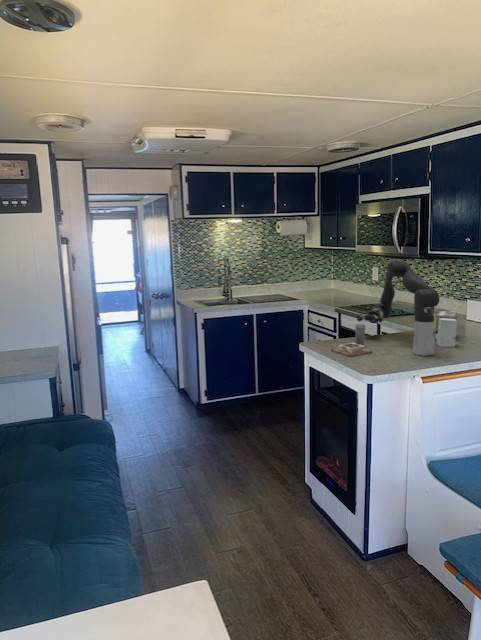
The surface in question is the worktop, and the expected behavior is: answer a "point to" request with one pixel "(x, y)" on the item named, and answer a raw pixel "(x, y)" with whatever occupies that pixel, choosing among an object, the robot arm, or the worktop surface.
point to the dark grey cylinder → (360, 334)
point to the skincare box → (446, 332)
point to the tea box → (444, 315)
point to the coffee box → (429, 310)
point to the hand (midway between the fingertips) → (366, 320)
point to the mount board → (351, 350)
